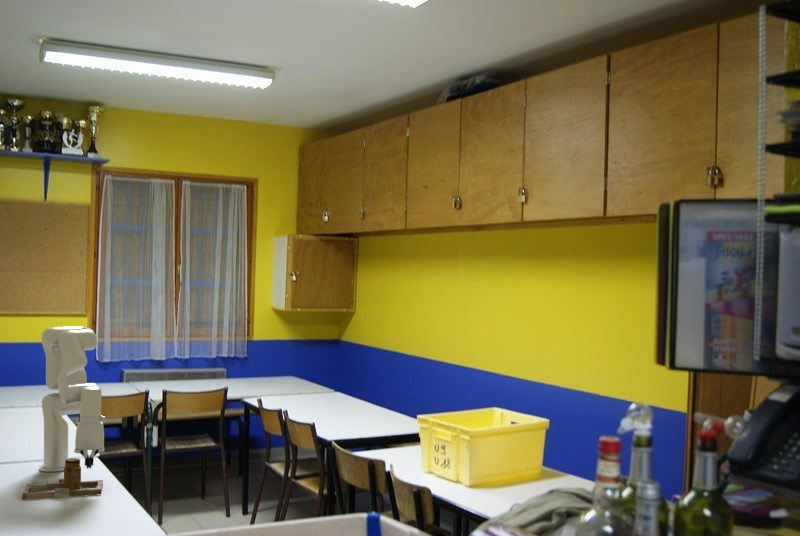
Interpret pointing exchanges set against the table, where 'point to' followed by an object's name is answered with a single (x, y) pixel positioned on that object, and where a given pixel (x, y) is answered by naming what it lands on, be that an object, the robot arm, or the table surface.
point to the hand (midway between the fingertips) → (89, 467)
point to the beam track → (59, 490)
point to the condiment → (72, 474)
